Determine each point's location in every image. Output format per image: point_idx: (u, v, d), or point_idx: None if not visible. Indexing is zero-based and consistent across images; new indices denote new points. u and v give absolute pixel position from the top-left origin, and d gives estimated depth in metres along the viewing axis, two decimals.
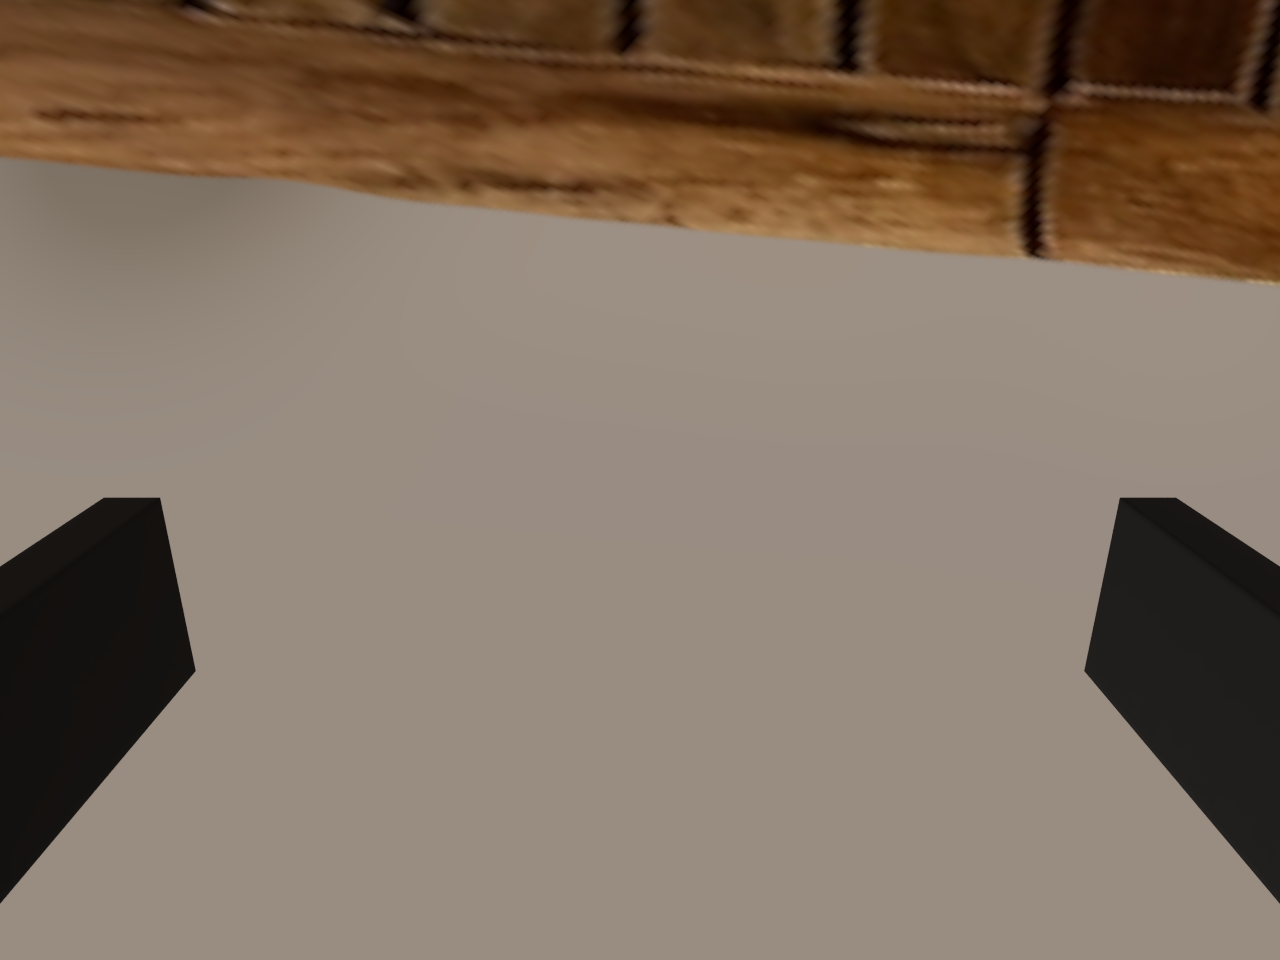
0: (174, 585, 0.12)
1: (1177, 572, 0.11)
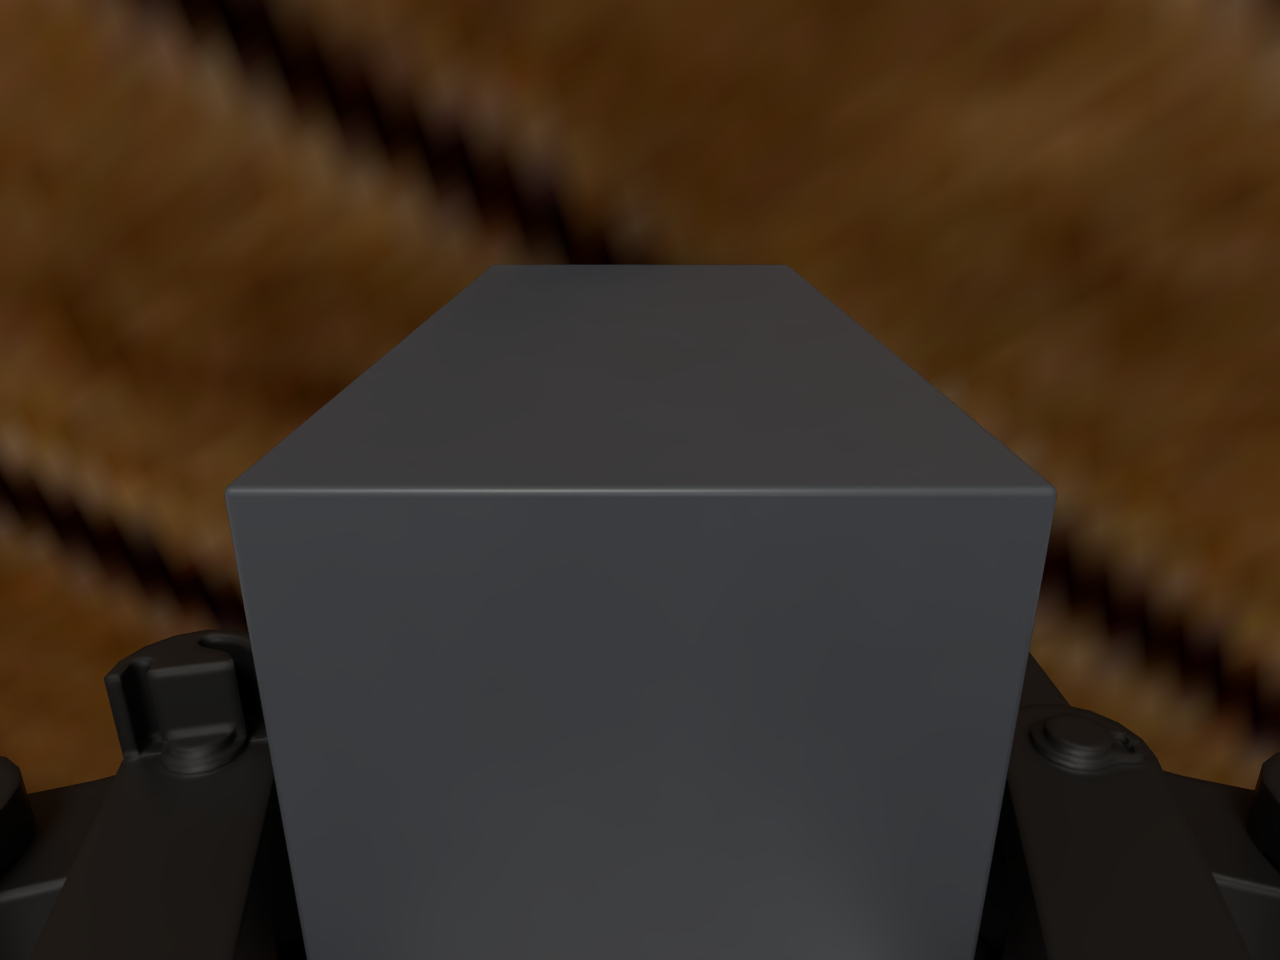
0: None
1: None
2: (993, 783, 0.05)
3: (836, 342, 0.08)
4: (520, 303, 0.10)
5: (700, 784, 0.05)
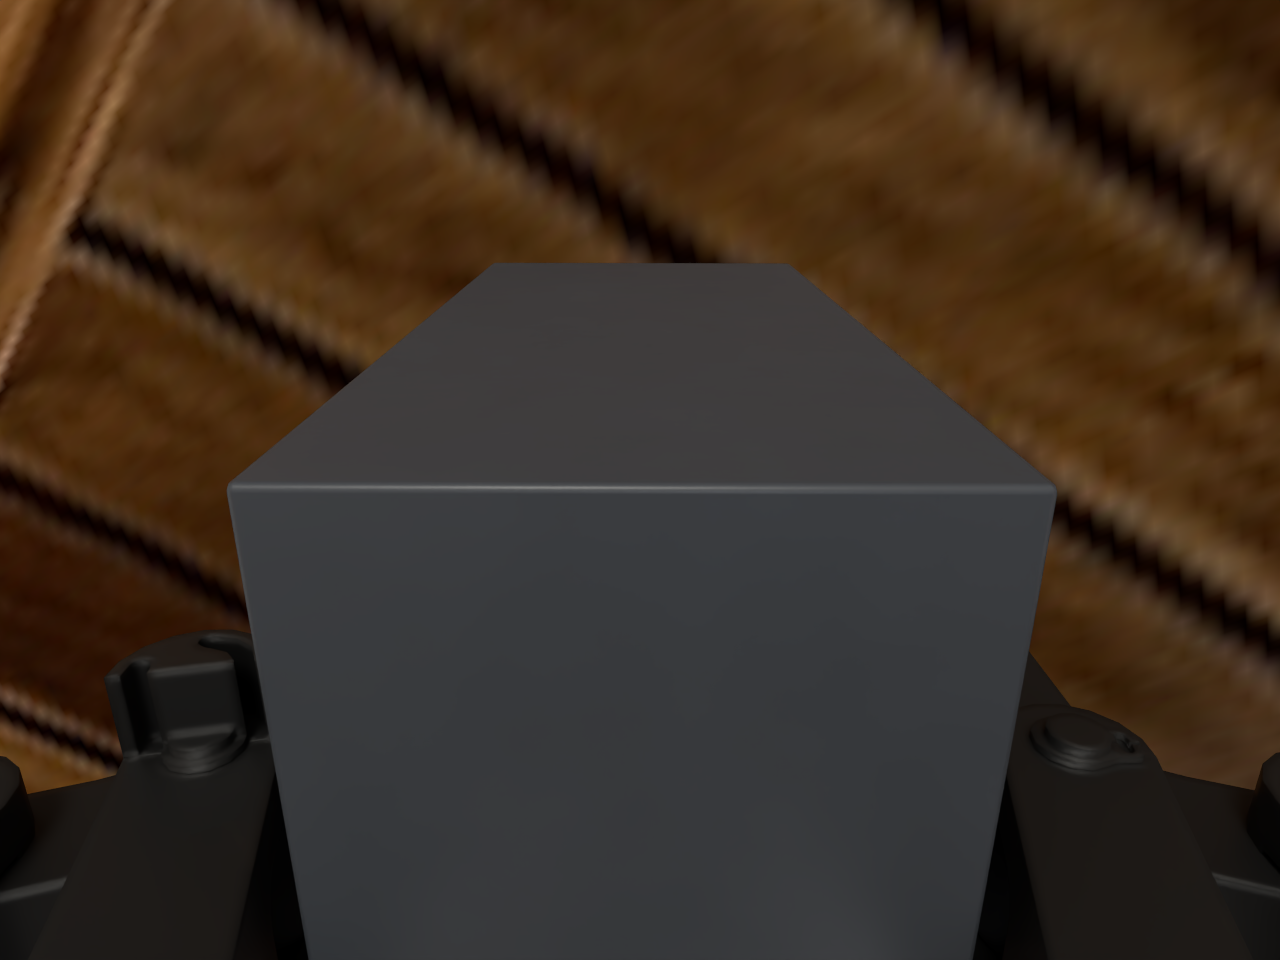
0: None
1: None
2: (993, 780, 0.05)
3: (837, 341, 0.08)
4: (521, 301, 0.10)
5: (700, 779, 0.05)
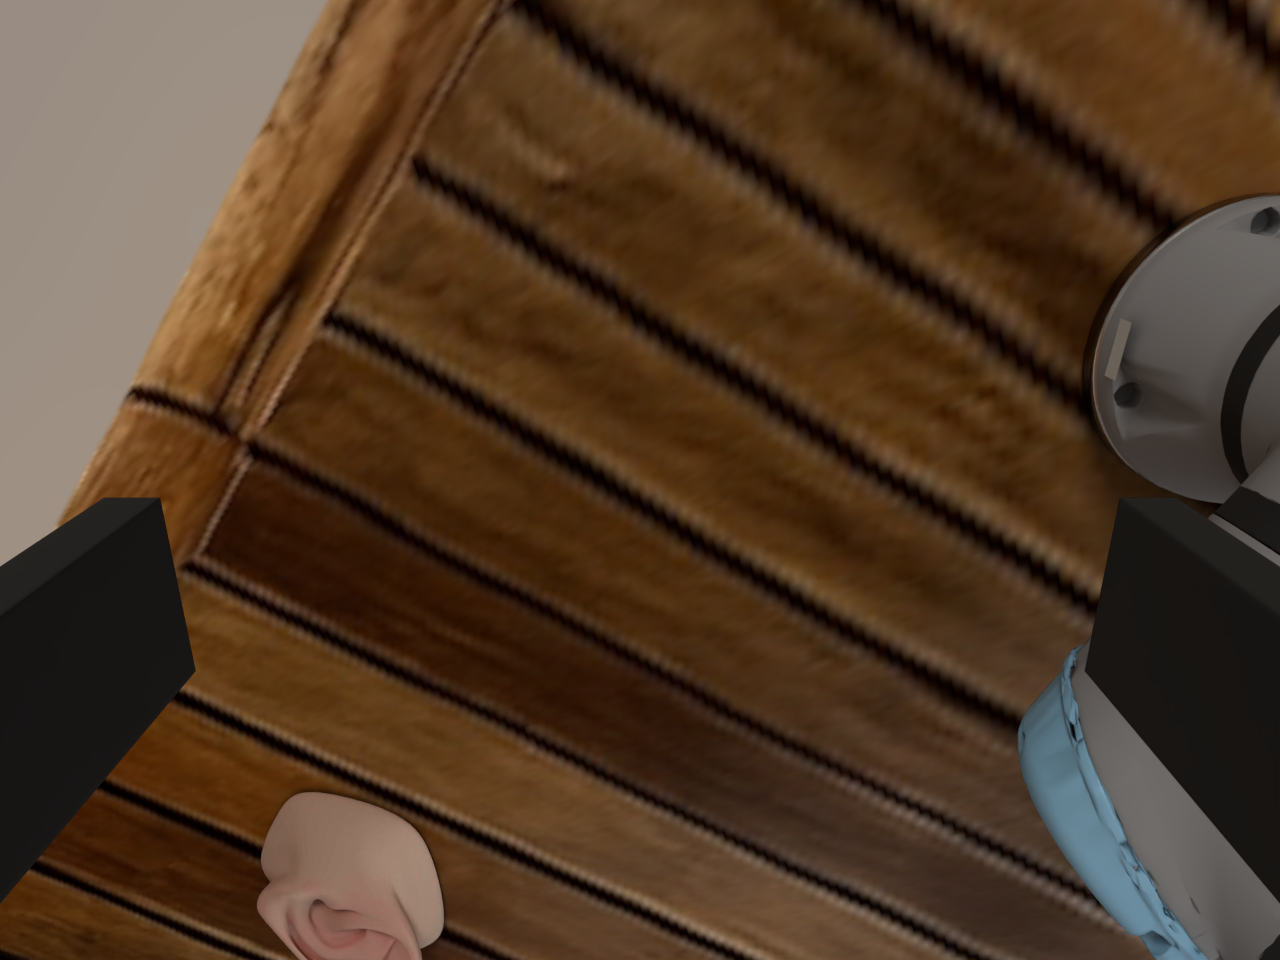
0: (174, 586, 0.12)
1: (1176, 572, 0.11)
2: None
3: None
4: None
5: None
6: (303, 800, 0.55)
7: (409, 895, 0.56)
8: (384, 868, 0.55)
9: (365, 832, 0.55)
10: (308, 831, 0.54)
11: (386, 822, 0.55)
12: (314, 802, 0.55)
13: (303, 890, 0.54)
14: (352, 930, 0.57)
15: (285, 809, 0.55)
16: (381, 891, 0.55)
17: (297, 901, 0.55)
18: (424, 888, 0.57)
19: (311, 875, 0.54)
